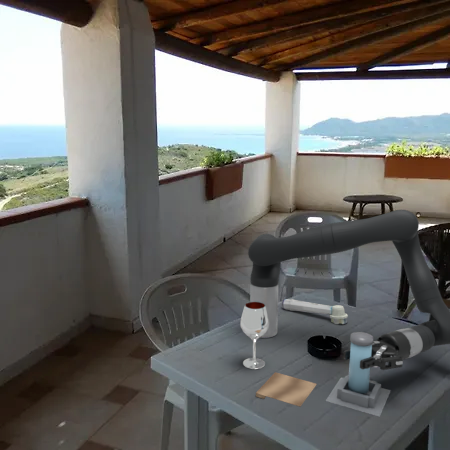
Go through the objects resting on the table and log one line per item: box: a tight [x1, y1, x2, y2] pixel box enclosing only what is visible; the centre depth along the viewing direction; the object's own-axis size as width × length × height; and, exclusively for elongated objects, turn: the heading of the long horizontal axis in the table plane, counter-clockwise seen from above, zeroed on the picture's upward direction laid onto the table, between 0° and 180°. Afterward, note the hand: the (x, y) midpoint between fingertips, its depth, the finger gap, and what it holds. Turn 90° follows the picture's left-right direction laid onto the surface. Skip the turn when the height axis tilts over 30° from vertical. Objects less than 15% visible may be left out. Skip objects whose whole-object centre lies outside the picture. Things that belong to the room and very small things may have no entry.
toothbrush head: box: [281, 298, 349, 325], centre depth 171 cm, size 5×7×25 cm
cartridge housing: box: [325, 374, 392, 418], centre depth 117 cm, size 13×13×4 cm
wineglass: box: [240, 301, 269, 370], centre depth 134 cm, size 8×8×18 cm
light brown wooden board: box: [255, 371, 317, 408], centre depth 121 cm, size 12×12×1 cm
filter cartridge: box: [348, 331, 374, 394], centre depth 116 cm, size 5×5×14 cm
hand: (352, 360), depth 114 cm, fingers closed on filter cartridge, 5 cm apart
